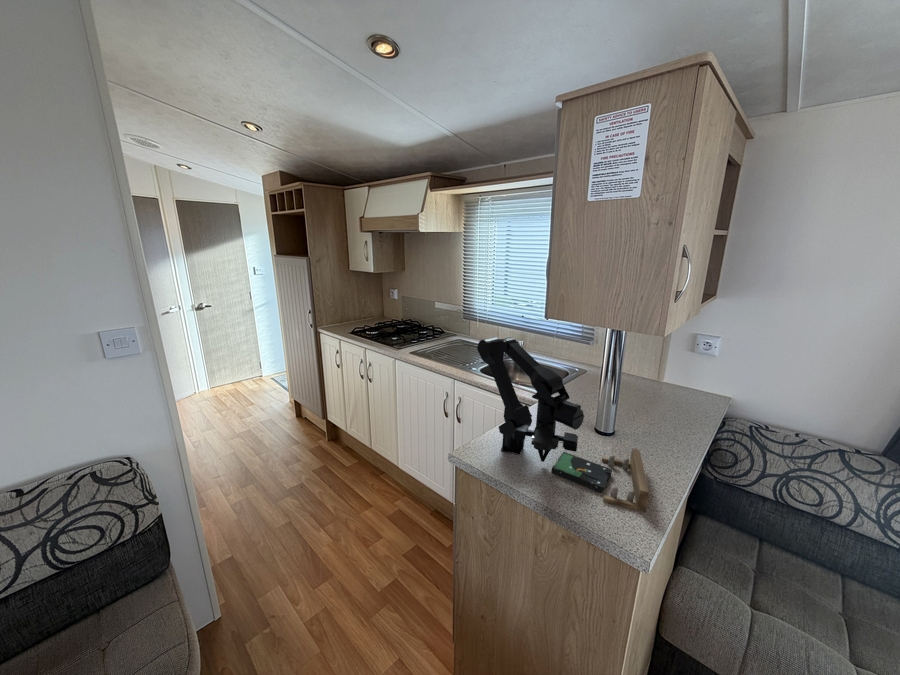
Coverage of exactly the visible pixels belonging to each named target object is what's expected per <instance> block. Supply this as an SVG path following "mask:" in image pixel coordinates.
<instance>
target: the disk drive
mask: <svg viewBox="0 0 900 675" xmlns="http://www.w3.org/2000/svg"><path fill="white" fill-rule="evenodd" d="M550 470H551V472H550V473H551V474H553V475H555V476H557V477H560V478H562V479H565V480H568V481H569V482H572V483H573V484H574V483H575V484H576V485H579V486H581V487H584V488H586V487H587V488H586V489H589V490H591V491H593V490H594V492H596V493H599V494H601V493H602V494H603V493H604V490H605V488H606V487H607V484H608V483H609V481H610V479H611V477H612V472H613V469H612V468H610V467H607V466H604V465H601V464H598V463H596V462H592V461H590V460H588V459H585V458H582V457H579V456H576V455H574V454H571V453H568V452H566V451H563V452H562V453H561V455H559V457H558V458H557V460H556V461H555V463H554V464H553V465H552V468H551V469H550Z"/></svg>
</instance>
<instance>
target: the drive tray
mask: <svg viewBox="0 0 900 675" xmlns="http://www.w3.org/2000/svg"><path fill="white" fill-rule="evenodd" d="M630 453H631V454H630V458H629V457H626V456H624V457H623V458H622V459H617V458H615V457H616V456H615V455H614V454H613V453H612V454H609V455H608V457H607V456H601V463H606V464H607V466H608V468H614V465H616V466H621V469H622V470H623V471H628V469H629V471H630V478H631V482H632V489H630V488H628V490H627V496H626V499H622V498H618V493H619V487H618V486H617V485H613V484H612V486H611V490H610V496H609V495H605V494H603V498H602V499H603V502H604V503H607V504H611V505H614V506H619V507H624V508H627V509H630V510H635V511H639V512H643V513H646V511H647V507H648V501H649V495H650V491H649V490H650V489H649V486H648V481H647V477H646V471H645V468H644V463H643V459H642V455H641V450H640V449H637V448H632V449H631V452H630ZM634 500H635V501H634Z"/></svg>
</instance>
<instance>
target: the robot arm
mask: <svg viewBox="0 0 900 675" xmlns="http://www.w3.org/2000/svg"><path fill="white" fill-rule="evenodd" d="M476 348H477V352H478V354H479V356H480V358H481V359H482V361H483V362H484V363H485V364H487V366H488V367H489V368H490V372H491V374H492V376H493V379H494V382H495V384H496V387H497V389H498V392H499V395H500V397H501V399H502V400H501V401H502V403H503V405H504V411H503V418H504V419H503V420H504V423H502V424H500V425H499V426H498V430H499V433H500V435H501V434H502V444H501V448H500V451H502V452H506V453H509V454H510V453H512V454H516V455H521V453H522V451H523V450H524V448H525V440H526V437H530V438H531V443H530V444H531V445H532V446H533V448H534V449H535V450H537V452H538V455H539V456H538V457H539V460H540V462H543V463H544V462H545V460H546V459H547V456H548V455H549V453H550V452H551V450H556V449H557V448H559V444H562V448H563V449H564V450H565V451H570V452H574V453H575V452H577V449H578V440H579V439H578V438H579V436H578V434H575V433H571V432H567V431H564V434H563V436H562V435H558V433H556V427H557V422H558V423H559V424H562V425H564V426H566V427H568V428H571V429H573V430H575V431H576V430H578V429H580V427H581V426H582V425H583V422H584V420H585V414H584V410H582V405H580V404H578V403H573V402H572V401H569V399H571V398H570V395H569V393H568V391H567V389H566V387H565V385H564V383H563V382H564V381H563V378H562V377H561V376H560V375H559V374H557V373H556V372H554V371H553V370H552V369H549V368H546V367H544V366H542V365H541V364H540V363H539V362H538V361H537V360H536V359H535V358H534V357H533V356H532V355H531V354H530V353H529V352H527V350H526V349H524V348H523V347H522V346H521V345H520V344H519V343H518V341H517V339H515V338H514V337H509V338H499V337H496V336H493V337H489V338H485V339H480V340H479V342H478V343H477V346H476ZM505 354H506V355H507V356H508V357H509V358H510V359H511V360H512V361H513V362H514V363H515V364H516V365H517V366H518V367H519V369H521V370H522V372H523V373H524V374H526V376H528V378H529V379H530V384H531V386H532V388H533V389H534V390H535V391H536V393H534V394H532V395H531V398H532V399H535V400H536V401H537V410H536V420H535V427H534V430H532V429H529V428H530V427H531V426H532V423H533V419H532V417H533V415H532V414H531V411H530V408H529V406H528V404H525V405H524V404H523V403H522V402H520V400H519V398H518V395H517V393H516V391H515V388H514V386H513V382H512V379H511V378H510V375H509V373H508V372H509V371H508V369H507V367H506V364H505V363H504V362H505V361H504V358H505ZM555 394H558V395H556V396H553V395H555Z"/></svg>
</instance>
